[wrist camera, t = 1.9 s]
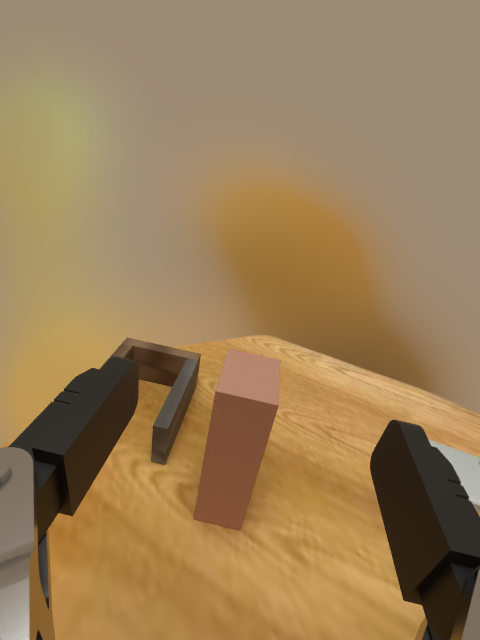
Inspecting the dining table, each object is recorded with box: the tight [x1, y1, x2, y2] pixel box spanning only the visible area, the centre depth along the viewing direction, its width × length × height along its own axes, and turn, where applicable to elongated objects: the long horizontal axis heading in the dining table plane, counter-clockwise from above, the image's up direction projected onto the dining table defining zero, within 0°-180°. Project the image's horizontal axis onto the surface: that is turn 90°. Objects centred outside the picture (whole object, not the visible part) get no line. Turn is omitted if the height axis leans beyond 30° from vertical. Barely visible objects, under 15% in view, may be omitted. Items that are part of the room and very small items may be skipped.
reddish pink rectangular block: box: [194, 349, 280, 530], centre depth 28 cm, size 4×6×16 cm
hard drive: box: [428, 439, 480, 512], centre depth 40 cm, size 2×8×12 cm
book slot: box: [99, 338, 201, 465], centre depth 39 cm, size 10×14×6 cm
